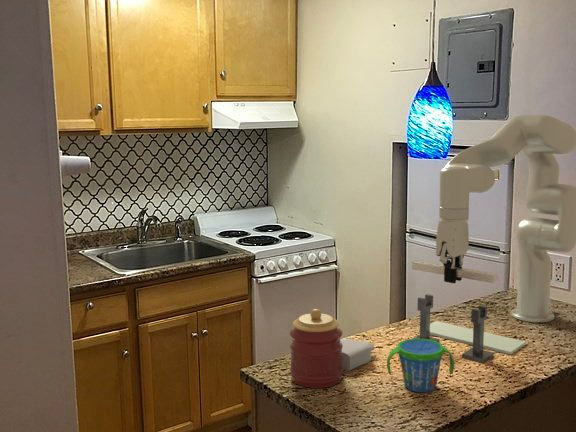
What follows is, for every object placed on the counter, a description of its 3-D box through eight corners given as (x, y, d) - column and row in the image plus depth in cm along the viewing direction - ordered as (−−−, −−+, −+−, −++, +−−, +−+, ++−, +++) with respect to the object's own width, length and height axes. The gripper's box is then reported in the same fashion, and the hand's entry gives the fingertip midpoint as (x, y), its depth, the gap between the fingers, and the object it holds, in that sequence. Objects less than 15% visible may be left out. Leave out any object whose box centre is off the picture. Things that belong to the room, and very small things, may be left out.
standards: (420, 337, 182) (421, 292, 180) (493, 356, 168) (495, 307, 165) (409, 343, 178) (410, 297, 176) (483, 363, 163) (485, 312, 161)
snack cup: (387, 395, 146) (388, 353, 144) (385, 376, 156) (386, 337, 154) (456, 397, 144) (458, 355, 142) (450, 378, 154) (451, 338, 153)
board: (436, 323, 195) (436, 320, 194) (525, 344, 176) (525, 341, 176) (419, 331, 187) (419, 329, 187) (510, 354, 169) (510, 351, 168)
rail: (416, 267, 179) (416, 260, 178) (497, 281, 162) (497, 273, 162) (411, 269, 177) (411, 262, 176) (493, 283, 161) (493, 275, 160)
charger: (385, 356, 170) (349, 372, 159) (358, 347, 176) (322, 363, 166) (385, 339, 169) (349, 354, 159) (358, 331, 175) (322, 345, 165)
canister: (353, 380, 154) (353, 311, 151) (309, 394, 147) (308, 321, 144) (322, 363, 165) (322, 298, 162) (280, 375, 158) (279, 307, 155)
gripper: (455, 208, 175) (454, 272, 178) (425, 216, 164) (425, 285, 167) (481, 210, 170) (479, 277, 173) (452, 219, 159) (450, 290, 162)
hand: (452, 280), depth 170 cm, fingers closed on rail, 2 cm apart
